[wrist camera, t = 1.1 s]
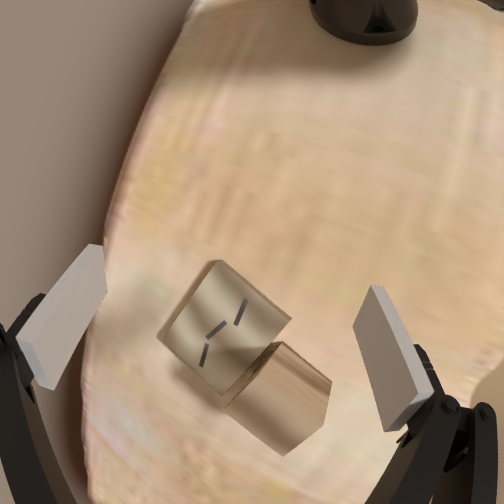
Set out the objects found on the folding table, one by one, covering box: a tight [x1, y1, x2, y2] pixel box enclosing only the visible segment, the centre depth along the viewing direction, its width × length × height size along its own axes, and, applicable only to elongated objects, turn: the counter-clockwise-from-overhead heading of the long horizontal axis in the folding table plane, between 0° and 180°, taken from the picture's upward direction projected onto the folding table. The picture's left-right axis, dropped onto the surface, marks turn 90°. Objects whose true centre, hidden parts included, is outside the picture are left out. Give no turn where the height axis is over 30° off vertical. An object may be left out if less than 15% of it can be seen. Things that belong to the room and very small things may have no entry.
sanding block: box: [223, 342, 332, 456], centre depth 32 cm, size 6×8×10 cm
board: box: [162, 260, 292, 396], centre depth 38 cm, size 14×11×2 cm
